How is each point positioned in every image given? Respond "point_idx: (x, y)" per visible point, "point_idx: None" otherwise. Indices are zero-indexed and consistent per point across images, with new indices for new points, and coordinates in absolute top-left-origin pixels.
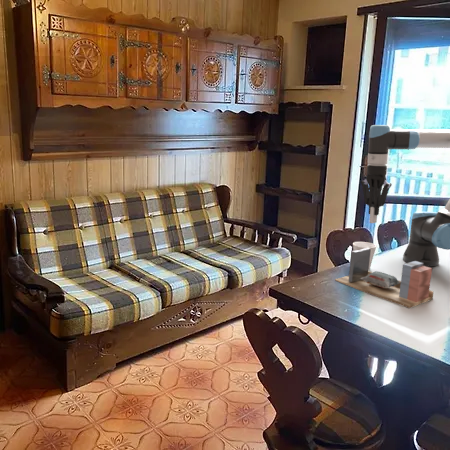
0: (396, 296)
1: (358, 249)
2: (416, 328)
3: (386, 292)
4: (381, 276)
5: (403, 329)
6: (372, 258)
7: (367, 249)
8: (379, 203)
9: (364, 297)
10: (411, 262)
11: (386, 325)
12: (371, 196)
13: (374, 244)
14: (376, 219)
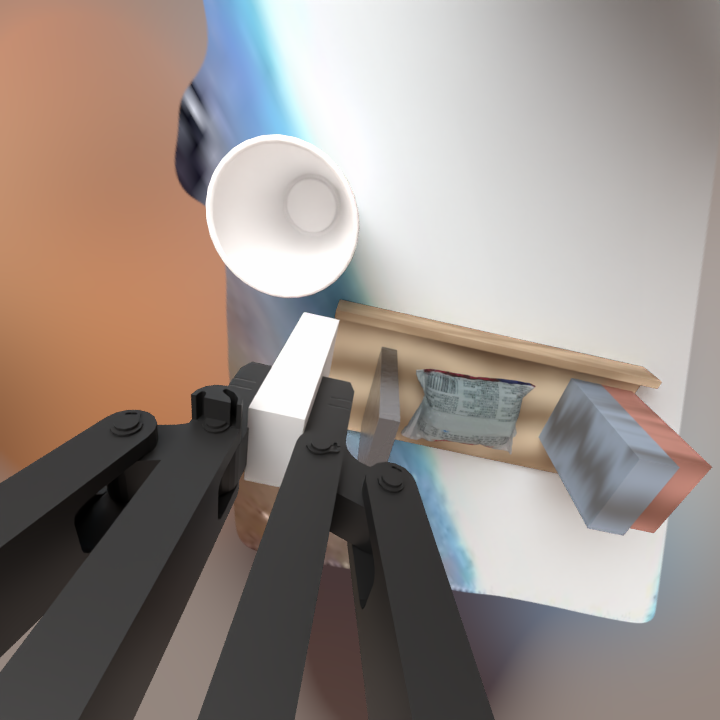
0: (531, 441)
1: (284, 286)
2: (599, 555)
3: None
4: (477, 440)
5: (572, 570)
6: (348, 207)
7: (392, 441)
8: (368, 568)
9: (444, 474)
10: (622, 490)
11: (536, 572)
12: (163, 645)
13: (322, 159)
14: (334, 337)
